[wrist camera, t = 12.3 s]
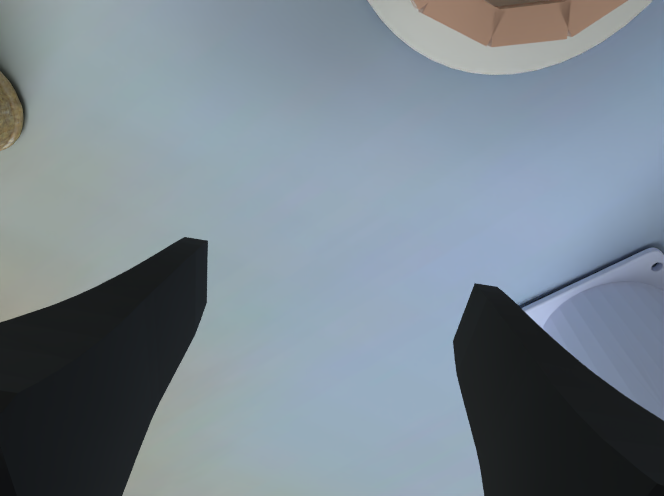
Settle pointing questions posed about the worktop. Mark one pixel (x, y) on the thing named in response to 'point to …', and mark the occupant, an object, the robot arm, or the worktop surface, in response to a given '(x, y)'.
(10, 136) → the sprinkles bottle
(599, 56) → the worktop surface
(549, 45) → the collar dish
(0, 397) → the robot arm
